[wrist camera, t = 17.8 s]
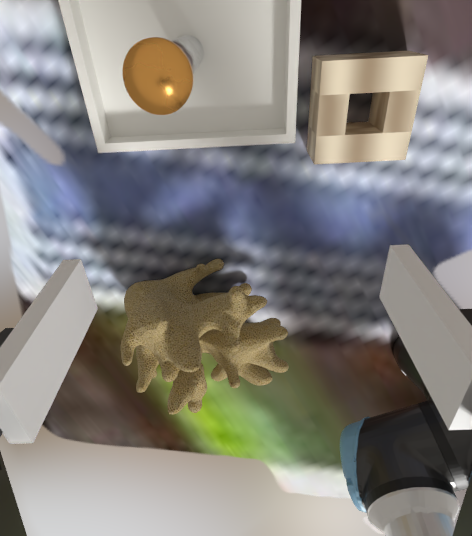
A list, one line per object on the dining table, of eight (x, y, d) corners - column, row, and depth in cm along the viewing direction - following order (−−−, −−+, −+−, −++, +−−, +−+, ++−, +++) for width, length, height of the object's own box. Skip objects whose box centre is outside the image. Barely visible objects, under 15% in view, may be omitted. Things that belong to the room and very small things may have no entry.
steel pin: (206, 28, 37) (187, 35, 20) (210, 73, 39) (195, 113, 22) (166, 30, 37) (115, 39, 20) (172, 75, 39) (130, 116, 22)
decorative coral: (39, 266, 40) (208, 421, 30) (183, 181, 52) (338, 273, 42) (93, 372, 59) (207, 488, 49) (189, 292, 71) (297, 373, 61)
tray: (298, -70, 33) (304, -78, 30) (290, 134, 44) (295, 142, 41) (58, -55, 34) (42, -61, 31) (107, 143, 44) (98, 153, 41)
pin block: (407, 50, 39) (428, 55, 35) (389, 145, 45) (405, 159, 40) (312, 55, 39) (322, 61, 35) (306, 150, 45) (314, 164, 41)
